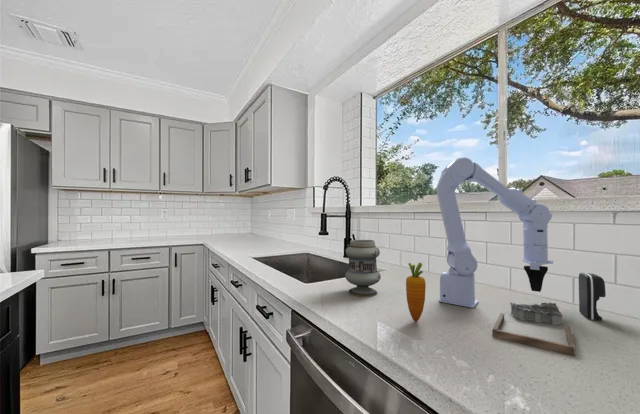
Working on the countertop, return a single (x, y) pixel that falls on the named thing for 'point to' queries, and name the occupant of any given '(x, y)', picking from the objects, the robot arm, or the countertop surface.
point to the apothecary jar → (362, 267)
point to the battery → (590, 294)
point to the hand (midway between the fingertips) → (536, 290)
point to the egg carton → (537, 312)
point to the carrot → (415, 292)
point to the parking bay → (534, 339)
